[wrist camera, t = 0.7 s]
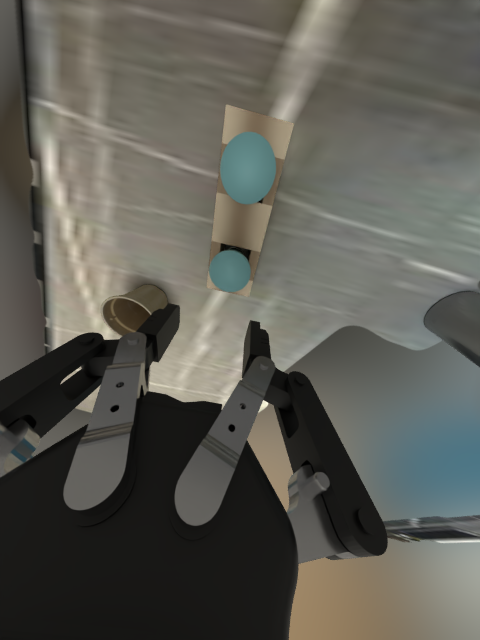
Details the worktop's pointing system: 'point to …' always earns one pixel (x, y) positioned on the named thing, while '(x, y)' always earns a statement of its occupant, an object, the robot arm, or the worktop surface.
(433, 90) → the worktop surface
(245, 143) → the teal peg
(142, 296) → the flower pot
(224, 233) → the oak block
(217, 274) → the teal peg
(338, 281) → the worktop surface
